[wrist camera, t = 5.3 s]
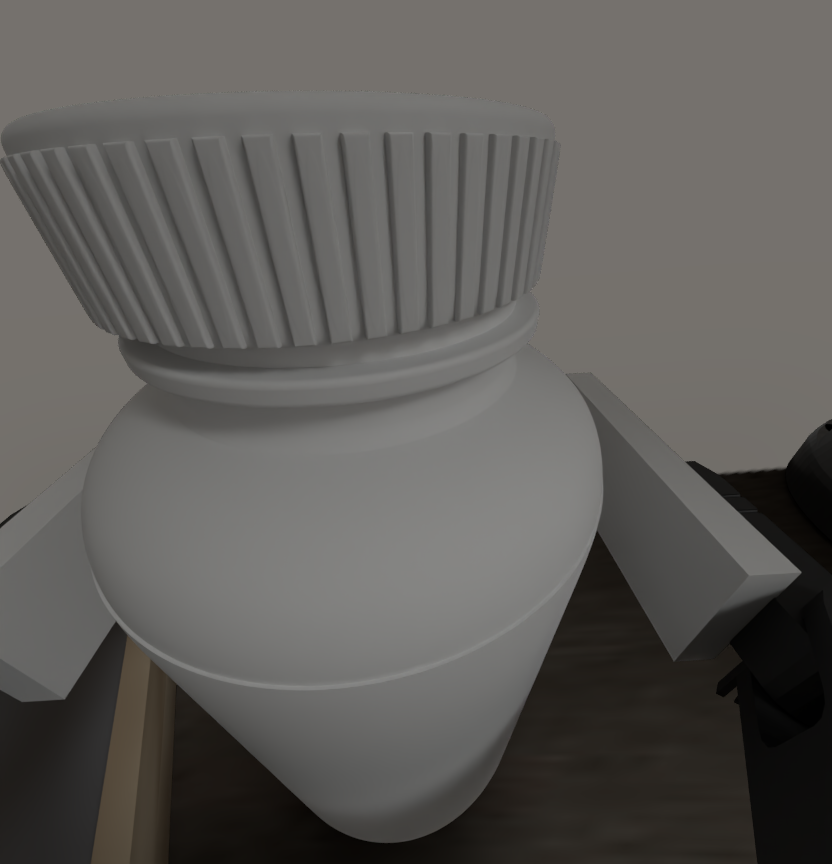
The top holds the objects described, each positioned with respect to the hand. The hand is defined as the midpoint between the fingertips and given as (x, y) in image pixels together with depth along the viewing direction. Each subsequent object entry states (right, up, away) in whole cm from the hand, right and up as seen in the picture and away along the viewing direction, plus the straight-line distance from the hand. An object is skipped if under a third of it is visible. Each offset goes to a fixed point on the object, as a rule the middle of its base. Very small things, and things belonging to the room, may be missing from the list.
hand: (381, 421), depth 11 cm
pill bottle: (0, -9, +2) cm, 10 cm away
